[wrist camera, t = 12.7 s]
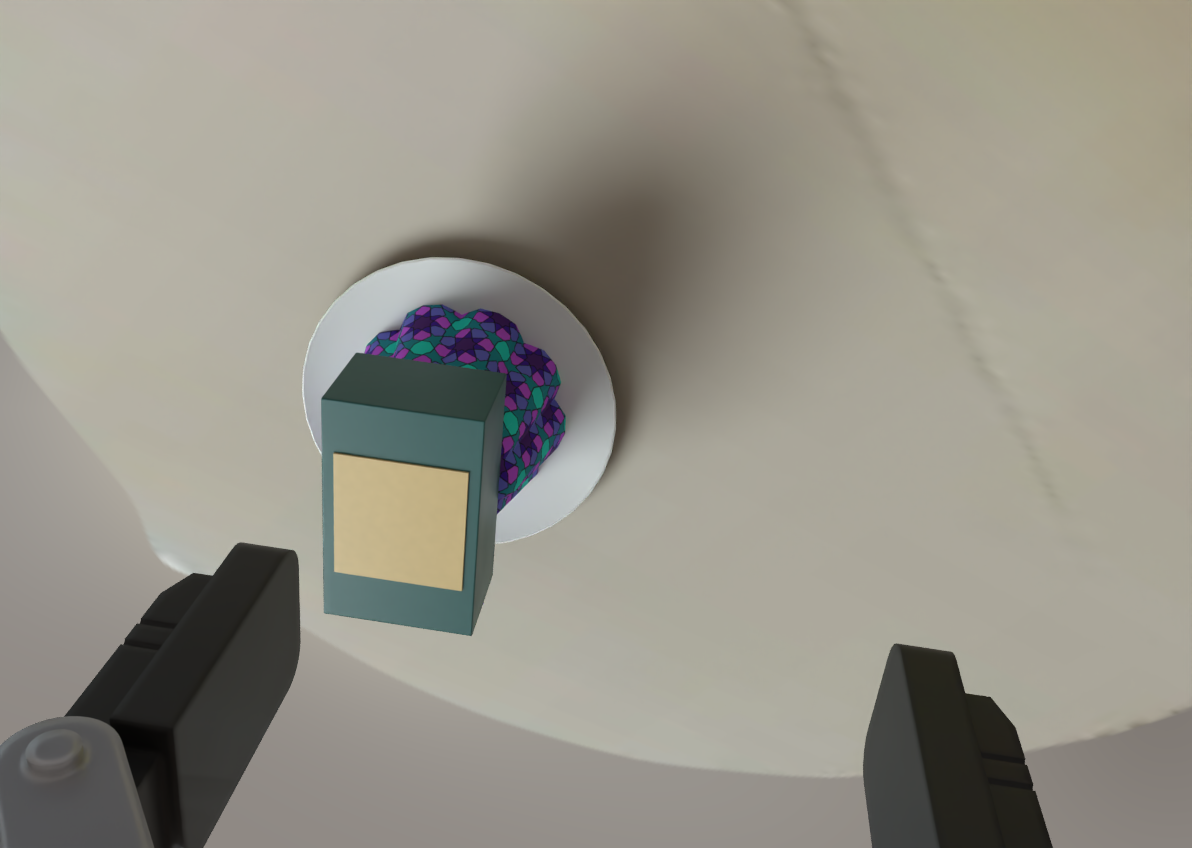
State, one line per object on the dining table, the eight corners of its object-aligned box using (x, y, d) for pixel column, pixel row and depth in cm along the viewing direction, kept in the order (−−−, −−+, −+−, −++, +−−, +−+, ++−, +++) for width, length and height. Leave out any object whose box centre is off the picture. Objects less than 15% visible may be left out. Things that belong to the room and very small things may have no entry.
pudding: (276, 261, 42) (218, 313, 37) (600, 238, 40) (581, 290, 35) (344, 539, 47) (300, 615, 42) (632, 530, 45) (619, 608, 40)
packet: (507, 372, 37) (484, 422, 34) (492, 575, 40) (471, 637, 37) (355, 351, 37) (319, 399, 34) (355, 555, 41) (322, 615, 38)
